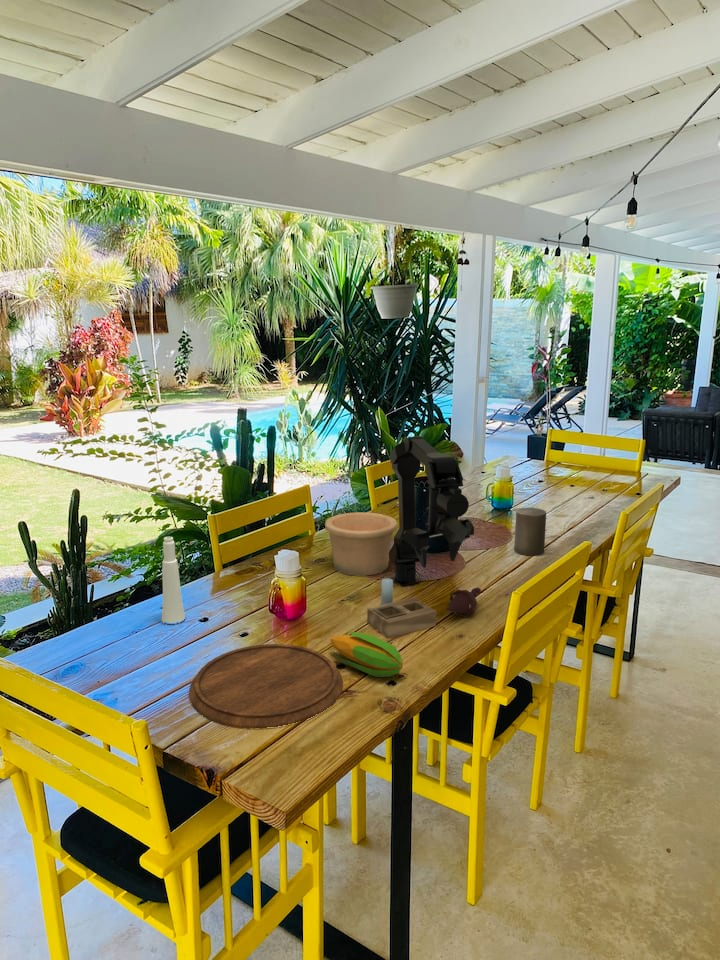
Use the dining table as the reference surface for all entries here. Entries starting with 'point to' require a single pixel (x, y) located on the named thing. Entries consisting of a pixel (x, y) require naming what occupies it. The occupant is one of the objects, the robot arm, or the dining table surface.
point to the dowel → (387, 591)
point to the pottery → (361, 542)
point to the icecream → (463, 601)
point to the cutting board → (265, 686)
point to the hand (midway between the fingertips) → (438, 563)
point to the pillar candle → (530, 531)
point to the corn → (368, 654)
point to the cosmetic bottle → (171, 585)
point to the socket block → (401, 617)
